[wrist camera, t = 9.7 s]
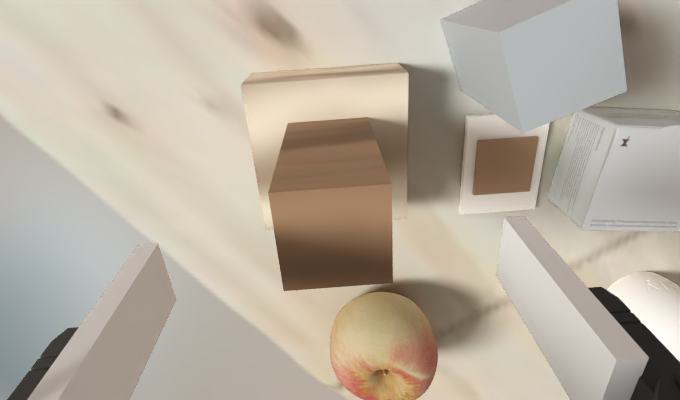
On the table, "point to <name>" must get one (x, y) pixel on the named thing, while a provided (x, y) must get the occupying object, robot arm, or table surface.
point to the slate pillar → (537, 57)
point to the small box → (620, 170)
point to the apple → (383, 348)
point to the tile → (500, 165)
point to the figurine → (653, 305)
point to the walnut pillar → (332, 206)
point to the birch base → (329, 116)
